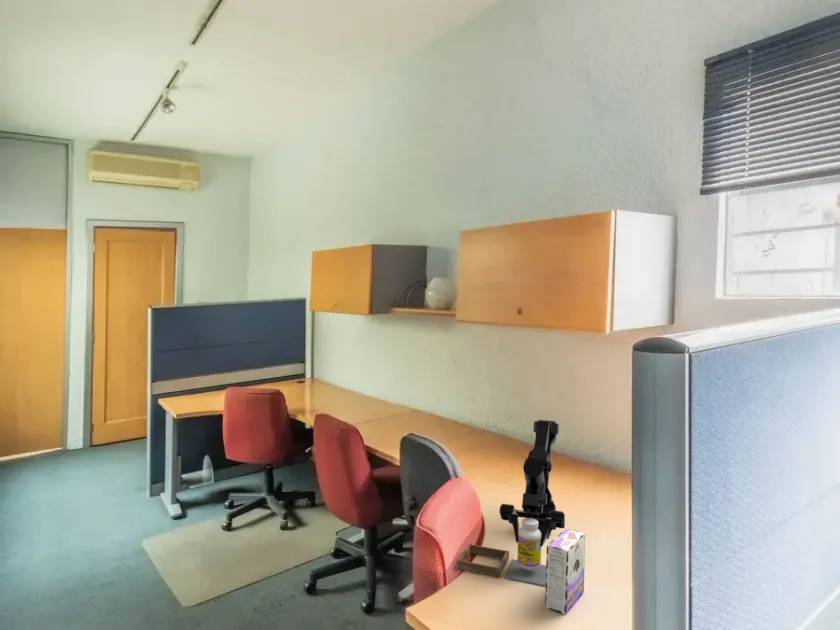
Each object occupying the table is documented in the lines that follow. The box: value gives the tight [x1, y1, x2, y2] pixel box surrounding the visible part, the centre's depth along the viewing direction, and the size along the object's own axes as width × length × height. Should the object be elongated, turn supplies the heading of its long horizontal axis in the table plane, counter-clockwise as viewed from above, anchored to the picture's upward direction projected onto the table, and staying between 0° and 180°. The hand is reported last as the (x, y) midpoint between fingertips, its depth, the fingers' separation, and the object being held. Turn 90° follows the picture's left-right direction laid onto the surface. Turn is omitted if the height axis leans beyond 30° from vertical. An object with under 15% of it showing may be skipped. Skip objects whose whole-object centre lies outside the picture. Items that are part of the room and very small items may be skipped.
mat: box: [503, 559, 546, 588], centre depth 161 cm, size 12×12×1 cm
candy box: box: [544, 528, 586, 616], centre depth 147 cm, size 14×6×16 cm, turn 145°
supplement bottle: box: [516, 518, 542, 570], centre depth 161 cm, size 7×7×13 cm
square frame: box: [456, 543, 510, 579], centre depth 166 cm, size 13×13×2 cm
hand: (529, 544), depth 160 cm, fingers closed on supplement bottle, 7 cm apart
